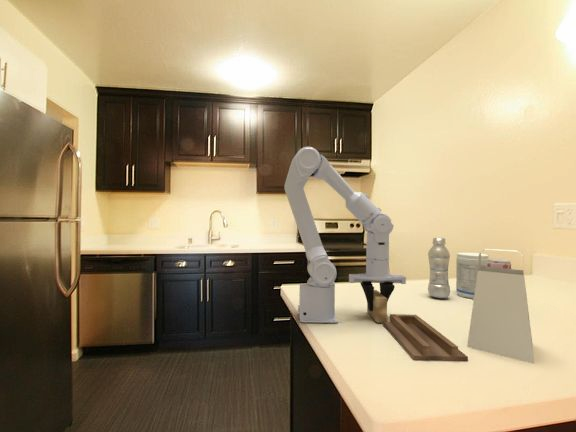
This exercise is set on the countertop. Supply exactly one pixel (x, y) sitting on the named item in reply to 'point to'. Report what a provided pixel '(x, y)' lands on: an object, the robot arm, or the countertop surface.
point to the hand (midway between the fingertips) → (376, 310)
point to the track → (422, 339)
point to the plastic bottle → (439, 269)
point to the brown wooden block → (379, 307)
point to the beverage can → (499, 263)
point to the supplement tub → (468, 272)
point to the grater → (501, 313)
